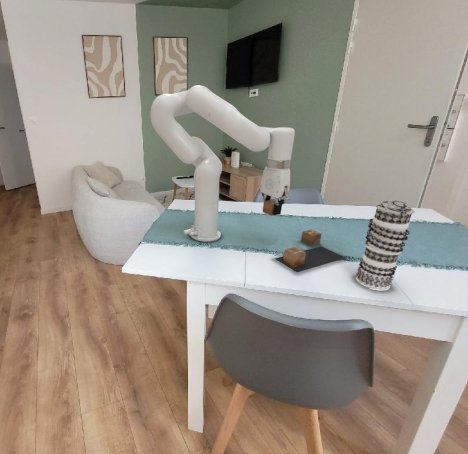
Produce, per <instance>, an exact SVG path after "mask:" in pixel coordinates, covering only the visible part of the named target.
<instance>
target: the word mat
mask: <svg viewBox="0 0 468 454" xmlns="http://www.w3.org/2000/svg"><path fill="white" fill-rule="evenodd" d="M303 251H304V252H306V256H305V261H304V265H301V266H297V267H294V268H293V267H291V266H290V265H288V264H286V263H285V262H283V258H284V255H283V256H278V257H275V258H274V260H275V261H277V262H279V263H280V264H282V265H284V266H285V267H287V268H289V269H290V270H291V271H293V272H295V273H300V272H304V271H307V270H311V269H314V268H317V267H322V266H324V265H327V264H331V263H335V262H338V261H342V260H344V259H346V257H345V256H343V255H341V254H339V253H336V252H334V251H332V250H330V249H328V248H326V247H323V246H322V245H320V246H317V247H313V248H309V249H306V250H303Z"/></svg>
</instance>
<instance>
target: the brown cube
mask: <svg viewBox="0 0 468 454" xmlns="http://www.w3.org/2000/svg"><path fill="white" fill-rule="evenodd" d="M274 205H276V199H275V198H271V199H270V200H265V201H264V200H263V205H262V213H264V214H266V215H268V216H274V215H273V210H274Z"/></svg>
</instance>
